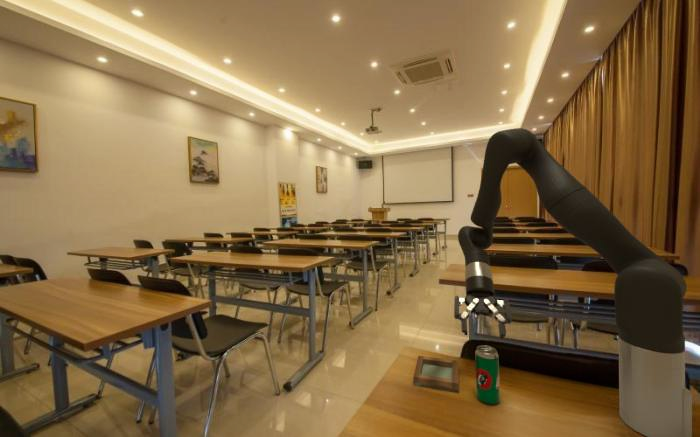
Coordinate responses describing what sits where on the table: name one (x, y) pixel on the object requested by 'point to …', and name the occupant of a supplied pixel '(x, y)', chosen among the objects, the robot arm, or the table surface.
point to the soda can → (487, 374)
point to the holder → (437, 373)
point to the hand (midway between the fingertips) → (483, 335)
